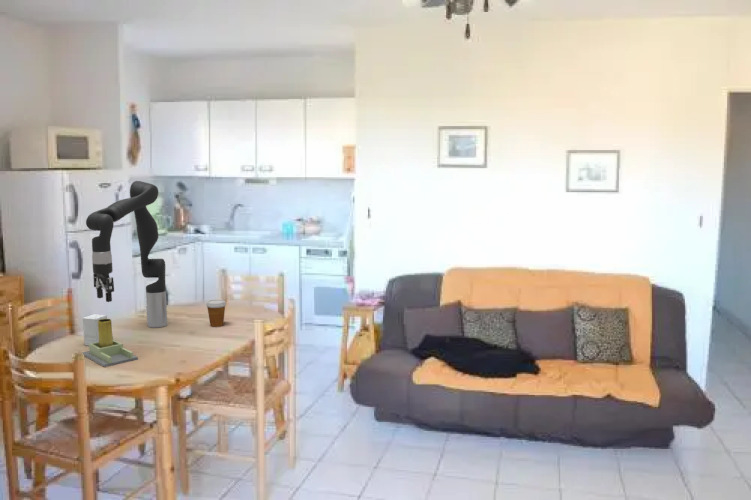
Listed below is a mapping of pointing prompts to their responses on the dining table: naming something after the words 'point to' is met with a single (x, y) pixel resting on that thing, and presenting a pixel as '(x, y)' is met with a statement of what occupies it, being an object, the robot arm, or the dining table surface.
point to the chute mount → (109, 354)
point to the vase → (105, 333)
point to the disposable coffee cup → (216, 312)
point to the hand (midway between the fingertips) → (104, 299)
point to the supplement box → (91, 328)
